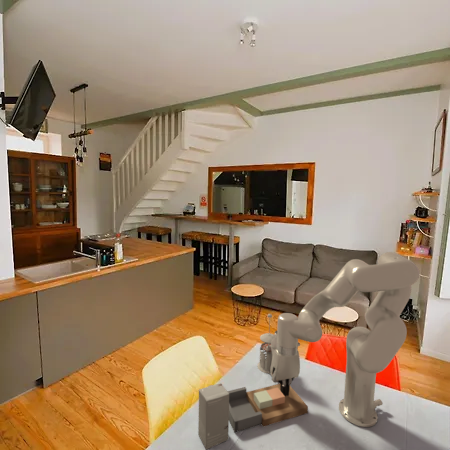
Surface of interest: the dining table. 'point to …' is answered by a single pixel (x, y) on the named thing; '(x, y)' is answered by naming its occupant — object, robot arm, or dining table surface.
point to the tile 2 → (276, 396)
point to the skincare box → (213, 415)
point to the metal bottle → (273, 347)
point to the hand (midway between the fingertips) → (284, 393)
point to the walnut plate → (279, 407)
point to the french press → (266, 347)
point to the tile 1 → (263, 399)
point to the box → (242, 411)
